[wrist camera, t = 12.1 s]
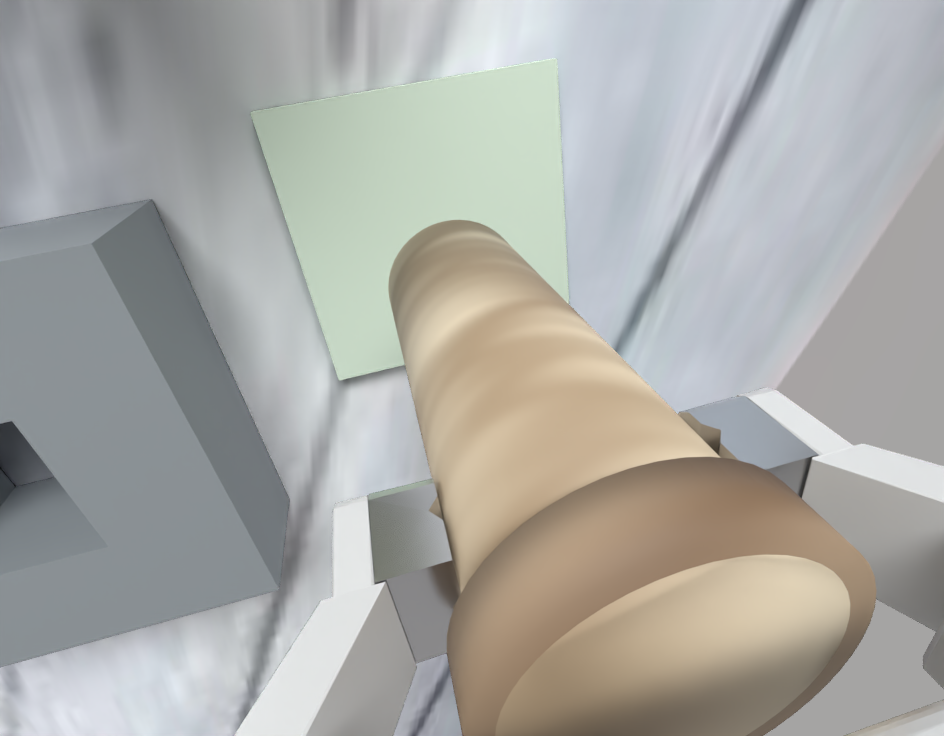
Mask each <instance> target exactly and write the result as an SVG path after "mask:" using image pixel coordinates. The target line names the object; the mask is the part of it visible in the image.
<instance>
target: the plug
mask: <svg viewBox="0 0 944 736" xmlns="http://www.w3.org/2000/svg"><path fill="white" fill-rule="evenodd" d="M388 292H389V299H390V304H391V308H392V312H393V317H394V321H395V325H396V329H397V334H398V338H399V342H400V346H401V350H402V355H403V359H404V363H405V367H406V372H407V376H408V380H409V384H410V388H411V393H412V397H413V401H414V405H415V410H416V414H417V418H418V422H419V426H420V431H421V435H422V439H423V443H424V448H425V452H426V456H427V460H428V464H429V469H430V473H431V477H432V479H434V483H435V487H436V491H437V495H438V499H439V503H440V507H441V511H442V515H443V519H444V523H445V529H446V533H447V537H448V541H449V545H450V548H451V552H452V557H453V561H454V565H455V570H456V574H457V578H458V582H459V587H460V591H461V595H460V596H459V598H458V600H457V602H456V605H455V607H454V610H453V613H452V615H451V618H450V622H449V627H448V632H447V657H448V662H449V667H450V672H451V678H452V683H453V688H454V693H455V698H456V704H457V709H458V714H459V719H460V725H461V730H462V735H463V736H763V735H765V734H766V733H768V732H769V731H771V730H773V729H774V728H776V727H777V726H778V725H780V724H781V723H782V722H784V721H785V720H786V719H787V718H789V717H790V716H792V715H793V714H794V713H796V712H797V711H798V710H799V709H800V708H802V707H803V706H804V705H805V704H806V703H808V702H809V701H810V700H811V699H812V698H813V697H814V696H815V695H816V694H817V693H819V692H820V691H821V690H822V689H823V688H824V687H825V686H826V685H827V684H828V683H829V682H830V681H831V679H832V678H833V677H834V676H835V675H836V674H837V673H838V672H839V671H840V670H841V668H842V667H843V666H844V664H845V663H846V662H847V661H848V659H849V658H850V657H851V656H852V654H853V652H854V651H855V649H856V648H857V646H858V645H859V643H860V642H861V640H862V638H863V636H864V634H865V632H866V630H867V628H868V626H869V624H870V621H871V618H872V615H873V611H874V608H875V601H876V592H877V591H876V583H875V576H874V574H873V572H872V569H871V567H870V564H869V563H868V562H867V560H866V559H865V558H864V557H863V556H862V554H861V553H860V552H859V551H858V550H857V549H856V548H855V547H854V546H853V545H851V544H850V543H849V542H848V541H847V540H846V539H845V538H844V537H843V536H842V535H841V534H840V533H838V532H837V531H836V530H835V529H834V528H833V527H832V526H831V525H830V524H829V523H828V522H826V521H825V520H824V519H823V518H822V517H821V516H820V515H819V514H818V513H817V512H816V511H815V510H813V509H812V508H811V507H810V506H809V505H808V504H807V503H806V502H805V501H804V500H803V499H802V498H800V497H799V496H798V495H797V494H796V493H795V492H794V491H793V490H792V489H791V488H790V487H789V486H787V485H786V484H785V483H784V482H783V481H782V480H780V479H779V478H778V477H776V476H775V475H773V474H772V473H771V472H769V471H767V470H765V469H762V468H760V467H758V466H756V465H754V464H750V463H746V462H743V461H739V460H735V459H728V458H721V457H720V456H719V455H718V454H717V453H716V452H715V451H714V450H713V449H712V448H711V447H710V446H709V445H708V444H707V443H706V442H705V441H704V440H703V439H702V438H701V437H700V436H699V435H698V434H697V433H696V432H695V431H694V430H693V429H692V428H691V427H690V426H689V425H688V424H687V423H686V422H685V421H684V420H683V419H682V418H681V417H680V416H679V415H678V414H677V413H676V412H675V411H674V410H673V409H672V408H671V407H670V406H669V405H668V404H667V403H666V402H665V401H664V400H663V399H662V398H661V397H660V396H659V395H658V394H657V393H656V392H655V391H654V390H653V389H652V388H651V387H650V386H649V385H648V384H647V383H646V382H645V381H644V380H643V379H642V378H641V377H640V376H639V375H638V374H637V373H636V372H635V371H634V370H633V369H632V368H631V367H630V366H629V365H628V364H627V363H626V362H625V361H624V360H623V359H622V358H621V357H620V356H619V355H618V354H617V353H616V351H615V350H614V349H613V348H612V347H611V346H610V345H609V344H608V343H607V342H606V341H605V340H604V339H603V338H602V337H601V336H600V335H599V334H598V333H597V332H596V331H595V330H594V329H593V328H592V327H591V326H590V325H589V324H588V323H587V322H586V321H585V320H584V319H583V318H582V317H581V316H580V315H579V314H578V313H577V312H576V311H575V310H574V309H573V308H572V307H571V306H570V305H569V304H568V303H567V302H566V301H565V300H564V299H563V298H562V297H561V296H560V295H559V294H558V293H557V292H556V291H555V290H554V289H553V288H552V287H551V286H550V285H549V284H548V283H547V282H546V281H545V280H544V279H543V278H542V277H541V276H540V275H539V274H538V273H537V272H536V271H535V270H534V269H533V268H532V267H531V266H530V265H529V264H528V263H527V262H526V261H525V260H524V259H523V258H522V257H521V256H520V255H519V254H518V253H517V252H516V251H515V250H514V249H513V248H512V247H511V246H510V245H509V244H508V243H507V242H506V241H505V239H504V238H503V237H502V236H501V235H499V234H498V233H497V232H495V231H494V230H493V229H491V228H489V227H487V226H485V225H483V224H480V223H477V222H473V221H468V220H449V221H443V222H439V223H436V224H433V225H431V226H429V227H427V228H425V229H423V230H421V231H420V232H418V233H417V234H415V235H414V236H413V237H412V238H411V239H409V241H408V242H407V243H406V244H405V245H404V246H403V247H402V249H401V250H400V252H399V253H398V255H397V257H396V258H395V260H394V262H393V265H392V268H391V271H390V276H389V284H388Z"/></svg>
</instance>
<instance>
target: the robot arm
mask: <svg viewBox="0 0 944 736" xmlns="http://www.w3.org/2000/svg"><path fill="white" fill-rule="evenodd" d="M678 415H679V416H680V417H681V418H682V419H683V420H684V421H685V422H686V423H687V424H688V425H689V426H690V427H691V428H692V429H693V430H694V431H695V432H696V433H697V434H698V435H699V436H700V437H701V438H702V439H703V440H704V441H705V442H706V443H707V444H708V445H709V446H710V447H711V448H712V449H713V450H714V451H715V452H716V453H717V454H718V455H719V456H720V457H721V458H728V459H735V460H739V461H743V462H746V463H750V464H754V465H756V466H758V467H760V468H762V469H765V470H767V471H769V472H771V473H772V474H773V475H775V476H776V477H778V478H779V479H780V480H782V481H783V482H784V483H785V484H786V485H787V486H789V487H790V488H791V489H792V490H793V491H794V492H795V493H796V494H797V495H798V496H799V497H800V498H802V499H803V500H804V501H805V502H806V503H807V504H808V505H809V506H810V507H811V508H812V509H813V510H815V511H816V512H817V513H818V514H819V515H820V516H821V517H822V518H823V519H824V520H825V521H826V522H828V523H829V524H830V525H831V526H832V527H833V528H834V529H835V530H836V531H837V532H838V533H840V534H841V535H842V536H843V537H844V538H845V539H846V540H847V541H848V542H849V543H850V544H851V545H853V546H854V547H855V548H856V549H857V550H858V551H859V552H860V553H861V554H862V556H863V557H864V558H865V559H866V560H867V562H868V563H869V564H870V567H871V569H872V572H873V574H874V576H875V583H876V591H877V592H876V599H877V600H879V601H881V602H882V603H885V604H886V605H888V606H890V607H892V608H894V609H895V610H897V611H899V612H901V613H903V614H905V615H906V616H908V617H910V618H912V619H914V620H916V621H917V622H919V623H921V624H923V625H925V626H926V627H928V628H930V629H932V630H934V631H936V633H935V635H934V637H933V639H932V641H931V643H930V644H929V646H928V648H927V650H926V652H925V654H924V655H923V668H924V669H925V671H927V673H928V674H929V675H930V676H931V677H932V678H933V679H934V680H935V681H936V682H937V683H938V684H939V685H940V686H941V687H942V688H943V689H944V466H940V465H937V464H934V463H930V462H926V461H923V460H920V459H916V458H912V457H909V456H905V455H902V454H898V453H895V452H891V451H888V450H884V449H881V448H877V447H874V446H870V445H867V444H859V445H855V446H853V445H852V444H850V443H849V442H847V441H846V440H845V439H843V438H842V437H840V436H839V435H838V434H836V433H835V432H834V431H832V430H831V429H830V428H828V427H827V426H825V425H824V424H823V423H821V422H820V421H818V420H817V419H815V418H814V417H813V416H812V415H810V414H809V413H807V412H806V411H805V410H803V409H802V408H800V407H799V406H798V405H796V404H795V403H794V402H792V401H791V400H789V399H788V398H787V397H785V396H784V395H782V394H781V393H780V392H778V391H777V390H775V389H771V388H767V387H765V388H761V389H758V390H754V391H751V392H748V393H744V394H741V395H737V396H736V397H731V398H728V399H724V400H721V401H717V402H713V403H710V404H706V405H703V406H699V407H695V408H692V409H688V410H685V411H681V412H679V414H678ZM460 595H461V591H460V587H459V582H458V578H457V574H456V570H455V565H454V561H453V557H452V552H451V548H450V545H449V541H448V537H447V533H446V529H445V523H444V519H443V515H442V511H441V507H440V503H439V499H438V495H437V491H436V487H435V483H434V479H429V480H425V481H420V482H416V483H412V484H408V485H404V486H400V487H396V488H392V489H388V490H384V491H380V492H375V493H371V494H369V495H367V496H362V497H358V498H354V499H350V500H346V501H341V502H337V503H335V505H334V508H333V511H332V597H330V598H327V599H324V600H321V601H320V602H319V604H318V605H317V607H316V609H315V610H314V612H313V613H312V615H311V616H310V618H309V620H308V621H307V623H306V624H305V626H304V627H303V629H302V630H301V632H300V634H299V635H298V637H297V638H296V640H295V641H294V643H293V644H292V646H291V648H290V649H289V651H288V652H287V654H286V655H285V657H284V659H283V660H282V662H281V663H280V665H279V666H278V668H277V669H276V671H275V673H274V674H273V676H272V677H271V679H270V680H269V682H268V683H267V685H266V687H265V688H264V690H263V691H262V693H261V694H260V696H259V697H258V699H257V701H256V702H255V704H254V705H253V707H252V708H251V710H250V712H249V713H248V715H247V716H246V718H245V719H244V721H243V722H242V724H241V726H240V727H239V729H238V730H237V732H236V733H235V735H234V736H393V735H394V732H395V729H396V726H397V723H398V720H399V717H400V715H401V712H402V709H403V706H404V703H405V700H406V697H407V694H408V692H409V689H410V686H411V683H412V680H413V677H414V674H415V672H416V669H417V666H416V663H419V662H422V661H425V660H428V659H431V658H434V657H436V656H439V655H442V654H445V653H447V632H448V627H449V622H450V618H451V615H452V613H453V610H454V607H455V605H456V602H457V600H458V598H459V596H460ZM844 736H944V700H941V701H938V702H935V703H933V704H930V705H927V706H924V707H921V708H919V709H916V710H913V711H911V712H908V713H905V714H902V715H899V716H897V717H894V718H891V719H888V720H886V721H883V722H880V723H877V724H874V725H872V726H869V727H866V728H863V729H861V730H858V731H855V732H852V733H850V734H847V735H844Z"/></svg>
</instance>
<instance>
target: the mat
mask: <svg viewBox="0 0 944 736" xmlns="http://www.w3.org/2000/svg"><path fill="white" fill-rule="evenodd" d="M250 115H251V118H252V121H253V124H254V127H255V130H256V133H257V136H258V139H259V142H260V145H261V148H262V151H263V154H264V157H265V160H266V163H267V166H268V169H269V172H270V175H271V178H272V181H273V184H274V187H275V190H276V193H277V196H278V199H279V202H280V205H281V208H282V211H283V214H284V217H285V220H286V223H287V226H288V229H289V232H290V235H291V238H292V241H293V244H294V247H295V250H296V253H297V256H298V259H299V262H300V265H301V268H302V271H303V274H304V277H305V280H306V283H307V286H308V289H309V292H310V295H311V298H312V301H313V304H314V307H315V310H316V313H317V316H318V319H319V322H320V325H321V328H322V331H323V334H324V337H325V340H326V343H327V346H328V349H329V352H330V355H331V358H332V361H333V364H334V367H335V370H336V373H337V376H338V379H339V380H344V379H348V378H352V377H356V376H360V375H365V374H369V373H373V372H377V371H382V370H386V369H390V368H394V367H398V366H403V365H405V363H404V359H403V355H402V350H401V346H400V342H399V338H398V334H397V329H396V325H395V321H394V317H393V312H392V308H391V304H390V299H389V292H388V284H389V276H390V271H391V268H392V265H393V262H394V260H395V258H396V257H397V255H398V253H399V252H400V250H401V249H402V247H403V246H404V245H405V244H406V243H407V242H408V241H409V239H411V238H412V237H413V236H414V235H415V234H417V233H418V232H420V231H421V230H423V229H425V228H427V227H429V226H431V225H433V224H436V223H439V222H443V221H449V220H468V221H473V222H477V223H480V224H483V225H485V226H487V227H489V228H491V229H493V230H494V231H495V232H497V233H498V234H499V235H501V236H502V237H503V238H504V239H505V241H506V242H507V243H508V244H509V245H510V246H511V247H512V248H513V249H514V250H515V251H516V252H517V253H518V254H519V255H520V256H521V257H522V258H523V259H524V260H525V261H526V262H527V263H528V264H529V265H530V266H531V267H532V268H533V269H534V270H535V271H536V272H537V273H538V274H539V275H540V276H541V277H542V278H543V279H544V280H545V281H546V282H547V283H548V284H549V285H550V286H551V287H552V288H553V289H554V290H555V291H556V292H557V293H558V294H559V295H560V296H561V297H562V298H563V299H564V300H565V301H566V302H567V303H568V304H569V291H568V271H567V251H566V230H565V210H564V190H563V169H562V149H561V129H560V108H559V88H558V68H557V59H547V60H541V61H535V62H529V63H524V64H518V65H512V66H507V67H501V68H495V69H490V70H484V71H478V72H473V73H467V74H461V75H456V76H450V77H444V78H439V79H433V80H427V81H422V82H416V83H410V84H405V85H399V86H393V87H387V88H382V89H376V90H370V91H365V92H359V93H353V94H348V95H342V96H336V97H331V98H325V99H319V100H314V101H308V102H302V103H297V104H291V105H285V106H280V107H274V108H268V109H262V110H257V111H252V112H250Z"/></svg>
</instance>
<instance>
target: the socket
mask: <svg viewBox="0 0 944 736" xmlns="http://www.w3.org/2000/svg"><path fill="white" fill-rule="evenodd" d="M10 421H12V422H13V423H14V424H15V426H16V427H17V428H18V430H19V431H20V432H21V433H22V435H23V436H24V437H25V439H26V440H27V441H28V443H29V444H30V445H31V447H32V448H33V449H34V450H35V452H36V453H37V454H38V456H39V457H40V458H41V460H42V461H43V462H44V463H45V465H46V466H47V467H48V469H49V470H50V471H51V473H52V474H53V475H54V478H50V479H46V480H42V481H38V482H34V483H29V484H25V485H21V486H17V487H15V486H14V485H13V483H12V482H11V481H10V480H9V479H8V477H7V476H6V475H5V474H4V473H3V471H2V470H1V469H0V667H3V666H7V665H11V664H14V663H18V662H21V661H25V660H29V659H32V658H36V657H39V656H43V655H47V654H50V653H54V652H57V651H61V650H65V649H68V648H72V647H75V646H79V645H83V644H86V643H90V642H93V641H97V640H101V639H104V638H108V637H111V636H115V635H119V634H122V633H126V632H129V631H133V630H137V629H140V628H144V627H147V626H151V625H155V624H158V623H162V622H165V621H169V620H173V619H176V618H180V617H183V616H187V615H191V614H194V613H198V612H201V611H205V610H209V609H212V608H216V607H219V606H223V605H227V604H230V603H234V602H237V601H241V600H245V599H248V598H252V597H255V596H259V595H263V594H266V593H270V592H273V591H277V590H279V589H280V580H281V571H282V562H283V553H284V544H285V535H286V526H287V517H288V508H289V497H288V495H287V493H286V491H285V489H284V487H283V484H282V482H281V480H280V478H279V476H278V473H277V471H276V469H275V467H274V465H273V463H272V460H271V458H270V456H269V454H268V452H267V449H266V447H265V445H264V443H263V441H262V439H261V436H260V434H259V432H258V430H257V428H256V426H255V423H254V421H253V419H252V417H251V415H250V412H249V410H248V408H247V406H246V404H245V402H244V399H243V397H242V395H241V393H240V391H239V388H238V386H237V384H236V382H235V380H234V378H233V375H232V373H231V371H230V369H229V367H228V364H227V362H226V360H225V358H224V356H223V354H222V351H221V349H220V347H219V345H218V343H217V341H216V338H215V336H214V334H213V332H212V330H211V327H210V325H209V323H208V321H207V319H206V317H205V314H204V312H203V310H202V308H201V306H200V303H199V301H198V299H197V297H196V295H195V293H194V290H193V288H192V286H191V284H190V282H189V280H188V277H187V275H186V273H185V271H184V269H183V266H182V264H181V262H180V260H179V258H178V256H177V253H176V251H175V249H174V247H173V245H172V242H171V240H170V238H169V236H168V234H167V232H166V229H165V227H164V225H163V223H162V221H161V218H160V216H159V214H158V212H157V210H156V208H155V205H154V203H153V201H152V199H151V200H146V201H140V202H135V203H130V204H125V205H119V206H114V207H109V208H104V209H98V210H93V211H88V212H83V213H77V214H72V215H67V216H62V217H56V218H51V219H46V220H41V221H35V222H30V223H25V224H20V225H14V226H9V227H4V228H0V424H1V423H5V422H10Z"/></svg>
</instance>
